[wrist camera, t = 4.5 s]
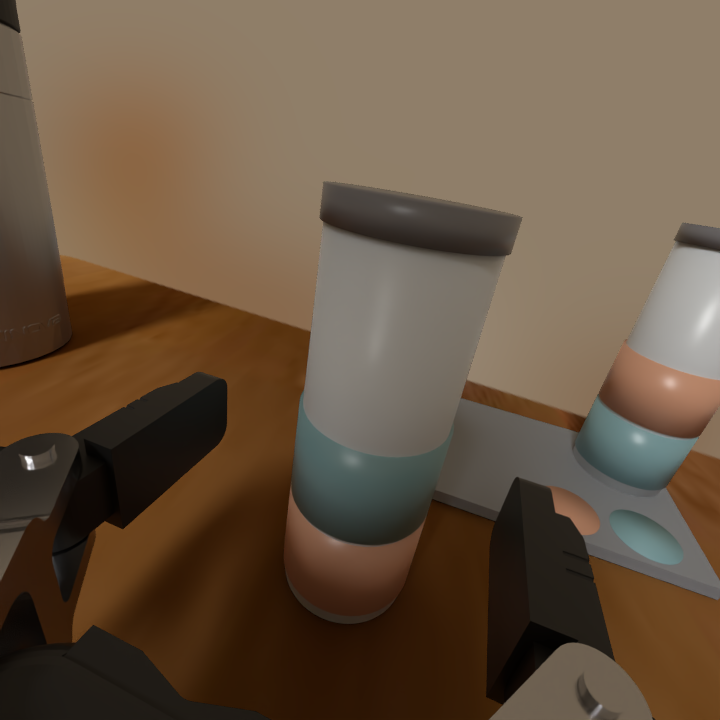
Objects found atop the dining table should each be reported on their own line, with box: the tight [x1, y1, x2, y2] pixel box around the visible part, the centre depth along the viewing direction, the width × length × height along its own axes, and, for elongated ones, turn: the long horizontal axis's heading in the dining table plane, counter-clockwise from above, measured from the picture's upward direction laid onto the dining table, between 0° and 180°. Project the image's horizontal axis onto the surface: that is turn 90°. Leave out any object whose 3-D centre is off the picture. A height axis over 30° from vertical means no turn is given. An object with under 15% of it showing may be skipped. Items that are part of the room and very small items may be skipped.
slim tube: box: [283, 182, 522, 624], centre depth 12 cm, size 5×5×13 cm
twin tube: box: [573, 223, 720, 497], centre depth 20 cm, size 5×5×13 cm
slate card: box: [432, 398, 720, 600], centre depth 22 cm, size 14×10×1 cm
